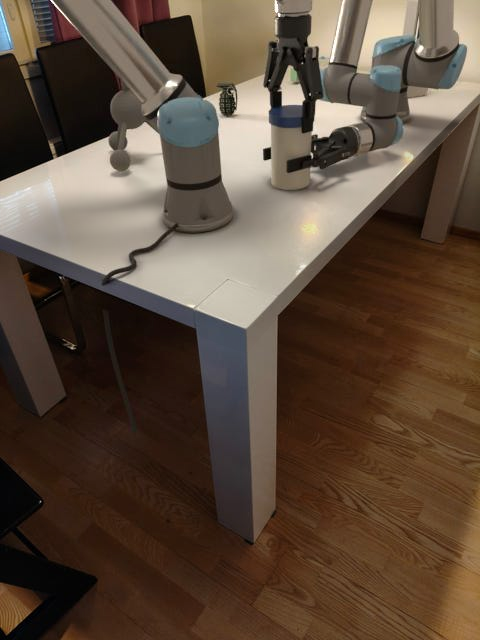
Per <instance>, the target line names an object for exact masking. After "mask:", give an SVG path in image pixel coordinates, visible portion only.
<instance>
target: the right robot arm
mask: <svg viewBox="0 0 480 640" xmlns="http://www.w3.org/2000/svg"><path fill="white" fill-rule="evenodd" d="M373 2H374V0H341V1H340V5H339V6H340V7H339V12H338V17H337V20H336V21H337V22H336V26H335V31H334V36H333V40H332V41H333V42H332V46H331V47H332V48H331V52H330V56H329V58H330V60H329V65H328V69H326V70H322V71H320V74H321V81H322V88H323V98H322V99H319V101H322V102H326V103H330V104H339V105H340V104H341V105H349V106H353V107H354V106H355V107H362V109H361V112H360V120H361V122H357V123H352V124H349V125H346V126H341V127H338V128H334V129H333V130H332V131H331V133H330V134H329V136H322V137H319V134H316V133H315V134H312V137H311V155H307V156H303V157H299V158H295V159H292V160H288V161H287V171H286V172H287V173H291V172H295V171H299V170H302V169H306V168H310V169H311V168H318V167H319V168H318V169H320V170H324V169H327V168H328V167H331V166H334V165H335V164H338V163H340V162H341V161H347V160H349V159H350V158H352V157H359V156H360V155H363V154H366V153H369V152H370V153H371V152H374V151H378V150H383V149H387V148H389V147H392V146H394V145H396V144H398V143H399V142H401V140H402V138H403V136H404V130H405V129H404V127H403V124H404V123H406V122H408V121H409V120H410V117H411V116H410V115H411V112H410V111H411V110H410V104H409V97H407V89H408V86H415V87H423V88H428V89H431V90H432V89H433V90H451V88H453V87H454V86H455V85H456V83H457V81H458V80H459V77H460V76H461V73H462V71H463V68H464V66H465V61H466V58H467V55H468V54H467V53H468V46H467V45H466V44H464V43H461V44H460V35H459V33H458V32H457V31H456V29H454V19H455V17H454V16H455V13H454V12H455V0H418V13H419V17H418V27H419V36H420V37H419V38H418V39H417V38H416V36H414V35H403V34H402V35H396V36H390V37H385V38H381V39H379V40H377V41H376V42H375V43H374V46H373V52H372V56H371V69H370V72H369V73H363V72H362V73H361V72H358V66H359V61H360V58H361V53H362V48H363V45H364V39H365V35H366V33H367V27H368V23H369V18H370V13H371V11H372V10H371V9H372V5H373ZM416 40H417V41H416ZM316 94H317V93H316ZM262 160H263V161H265V162H266V161H271V146H269V147H265V148H262Z"/></svg>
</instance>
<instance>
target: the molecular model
mask: <svg viewBox="0 0 480 640" xmlns="http://www.w3.org/2000/svg"><path fill="white" fill-rule="evenodd" d="M120 85H121V89H122V90H120V91H118V92H117V93H116V94H115V95H114V96H113V97H112V99H111V102H110V115H111V117H112V119H113V120H114V122H115V123H116V124H117V125H118V127H117V131H113V132H111V133H110V134H109V136H108V138H107V139H108V145H109V147H110V148H111V149H112V150H113V152H111V154H110V156H109V163H110V166H111V167H112V169H114V170H115V171H117V172H126V171H128V169H129V168H130V167H131V164H132V158H131V156H130V154H129V153H128V152H127V151H126V148H127V147H128V137H127V130H134V129H138V128H140V127H141V126H143V124H144V123H146V124H147V125H148V126H149V127H150V128H151V129H153V130H154V131H155V132H156V133H157V134H158V135H159V136H160V134H159V133H158V131H157V130H156V129H155V128H154V127H153V126H152V125H151V124H150V122H149V121H148V120H147V119H146V118H145V117H144V116H143V115H142V104H141V102H140V101H139V99H138V98H137V97H136V96H135V95H134V94H133V93H132V92H131V90H130V89H129V88H128V87H127V86H126V85H125V84H124V82H123V81H122V80H121V79H120Z"/></svg>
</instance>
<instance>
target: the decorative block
mask: <svg viewBox="0 0 480 640" xmlns="http://www.w3.org/2000/svg"><path fill="white" fill-rule="evenodd" d="M318 60H319V67H320V71H322V70H326V69H328V65H329V60H330V57H325V56H320V57H318ZM301 64H303V62H302V63H301ZM290 82H294V83H300V82H299V78H298V75H297V72H296V71H295V70H294V69H293V67H291V68H290Z"/></svg>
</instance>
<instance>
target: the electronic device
mask: <svg viewBox="0 0 480 640" xmlns="http://www.w3.org/2000/svg"><path fill="white" fill-rule="evenodd" d="M404 15H405V16H404V23H403V30H402V36H403V35H414V36H415V37H416V41H417V39H418V38H419V37H420V36H419V26H418V24H419V13H418V0H407V1H406V7H405V14H404ZM416 41H415V42H416ZM428 91H429V88H423V87H415V86H408V89H407V97H408V98H415V97H422V96H425V95H426V94H427V93H428Z"/></svg>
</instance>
